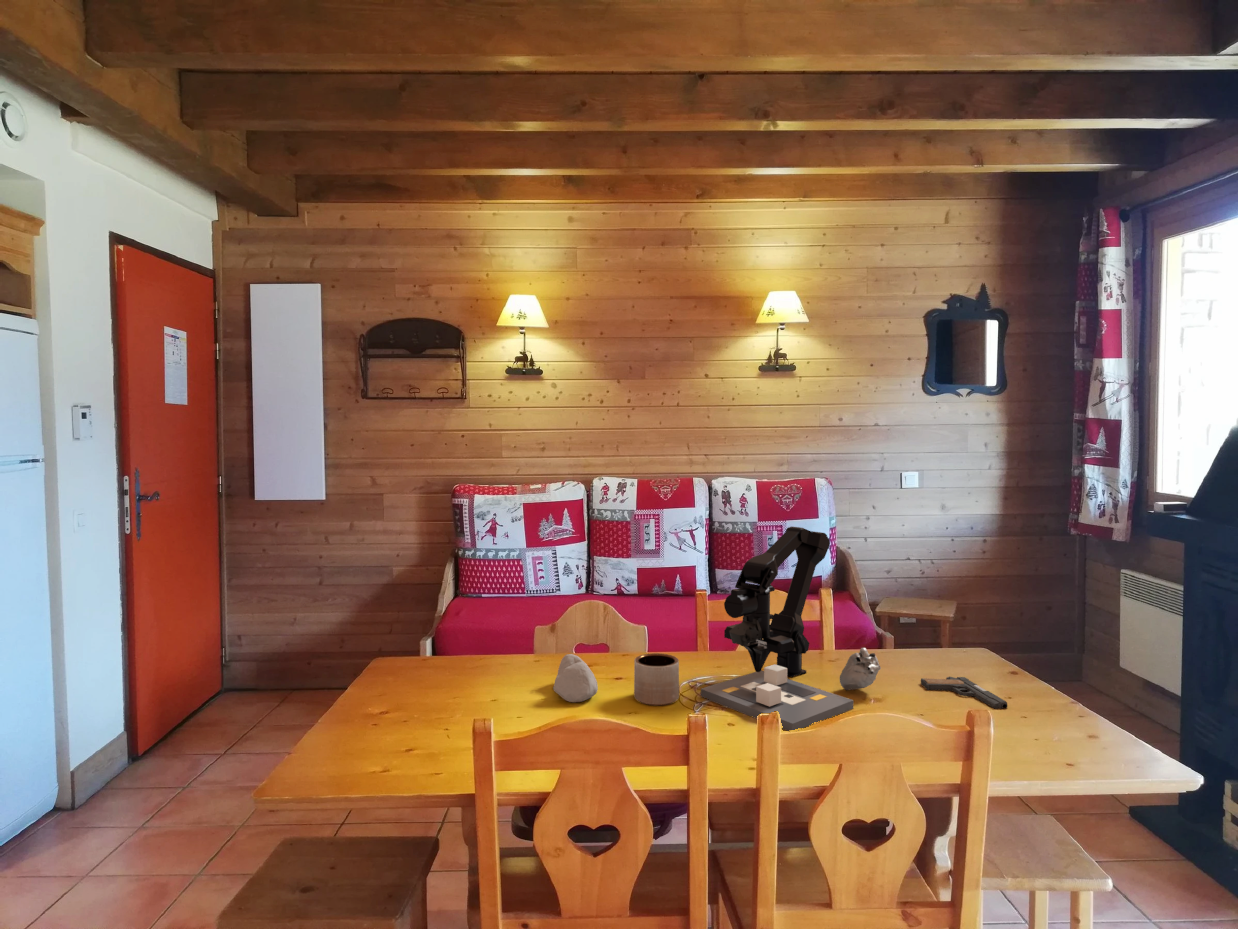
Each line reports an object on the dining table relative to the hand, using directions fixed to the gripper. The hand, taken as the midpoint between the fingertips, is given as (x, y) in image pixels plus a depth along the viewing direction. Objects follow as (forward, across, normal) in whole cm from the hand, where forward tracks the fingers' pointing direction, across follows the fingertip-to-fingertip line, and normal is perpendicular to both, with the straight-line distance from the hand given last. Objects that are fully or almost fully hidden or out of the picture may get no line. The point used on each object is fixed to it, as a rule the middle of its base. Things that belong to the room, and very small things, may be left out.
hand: (758, 671), depth 199 cm
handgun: (+4, +36, +33) cm, 49 cm away
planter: (+4, -9, -26) cm, 28 cm away
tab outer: (+1, +14, -12) cm, 18 cm away
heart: (+4, +19, +16) cm, 25 cm away
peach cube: (+1, +6, 0) cm, 6 cm away
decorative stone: (+4, -25, -39) cm, 47 cm away
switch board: (+4, +11, -6) cm, 13 cm away
